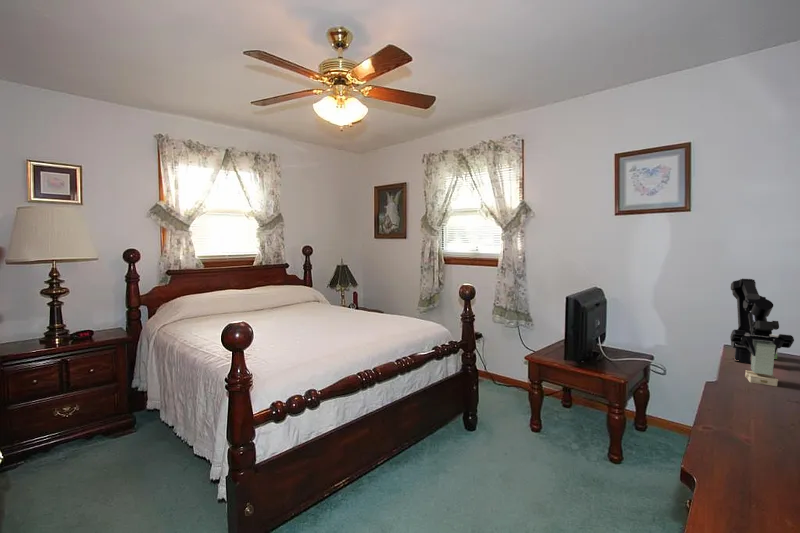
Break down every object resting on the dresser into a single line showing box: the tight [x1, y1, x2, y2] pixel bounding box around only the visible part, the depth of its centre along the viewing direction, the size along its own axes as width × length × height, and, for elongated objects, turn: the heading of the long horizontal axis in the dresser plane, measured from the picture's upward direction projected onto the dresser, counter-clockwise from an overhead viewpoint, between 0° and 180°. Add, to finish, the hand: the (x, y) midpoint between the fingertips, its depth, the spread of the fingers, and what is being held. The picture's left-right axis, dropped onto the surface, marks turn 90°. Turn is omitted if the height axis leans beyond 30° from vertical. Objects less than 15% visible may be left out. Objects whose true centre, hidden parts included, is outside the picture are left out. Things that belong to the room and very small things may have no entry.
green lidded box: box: [750, 340, 776, 376], centre depth 161 cm, size 6×6×12 cm
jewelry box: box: [744, 369, 779, 387], centre depth 162 cm, size 8×8×3 cm
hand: (763, 356), depth 160 cm, fingers closed on green lidded box, 5 cm apart
